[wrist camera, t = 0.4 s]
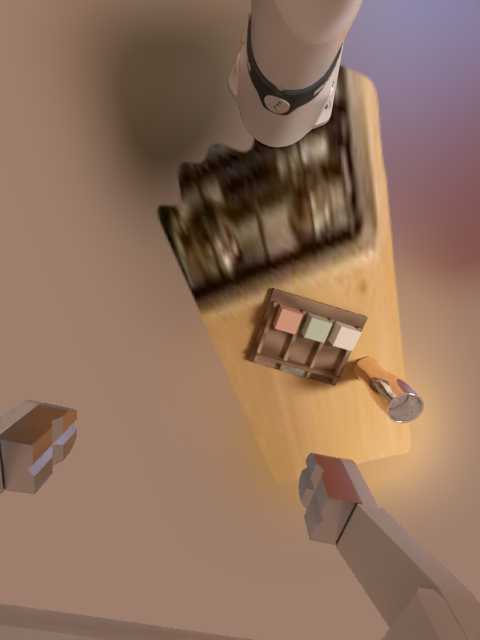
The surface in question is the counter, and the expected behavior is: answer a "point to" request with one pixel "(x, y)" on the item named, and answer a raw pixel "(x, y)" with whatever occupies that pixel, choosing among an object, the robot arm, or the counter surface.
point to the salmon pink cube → (287, 319)
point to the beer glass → (389, 391)
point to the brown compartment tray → (302, 340)
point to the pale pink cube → (343, 336)
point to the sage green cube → (316, 327)
